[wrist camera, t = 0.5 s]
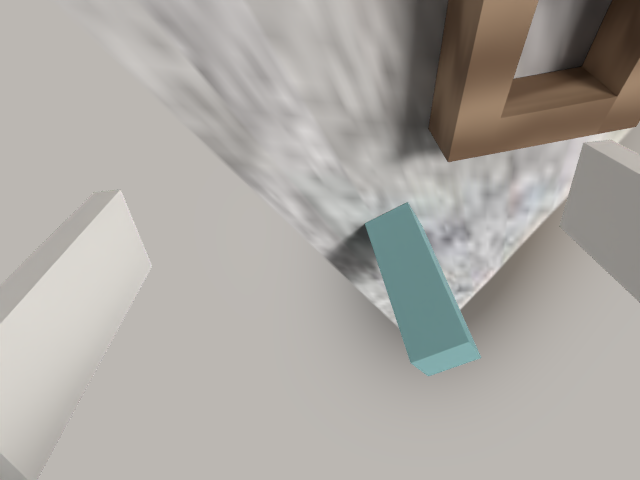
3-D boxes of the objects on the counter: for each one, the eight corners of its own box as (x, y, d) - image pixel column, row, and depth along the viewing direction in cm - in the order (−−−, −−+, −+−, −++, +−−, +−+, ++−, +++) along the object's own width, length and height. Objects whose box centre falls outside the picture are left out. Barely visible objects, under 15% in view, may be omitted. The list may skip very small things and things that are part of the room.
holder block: (466, -112, 19) (503, -92, 17) (735, -155, 20) (811, -142, 17) (428, 128, 30) (447, 162, 28) (601, 96, 31) (635, 126, 28)
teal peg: (364, 223, 38) (410, 363, 29) (407, 202, 36) (469, 341, 28) (382, 245, 41) (428, 376, 32) (422, 226, 40) (481, 357, 31)
